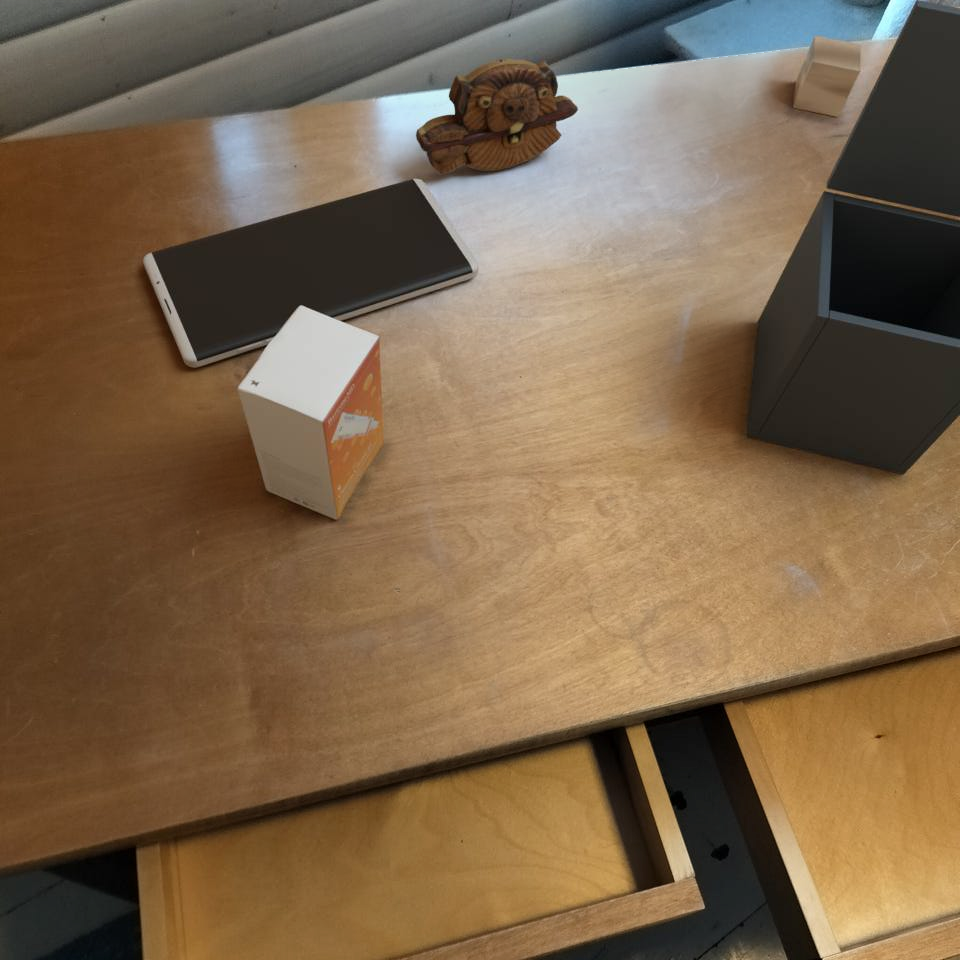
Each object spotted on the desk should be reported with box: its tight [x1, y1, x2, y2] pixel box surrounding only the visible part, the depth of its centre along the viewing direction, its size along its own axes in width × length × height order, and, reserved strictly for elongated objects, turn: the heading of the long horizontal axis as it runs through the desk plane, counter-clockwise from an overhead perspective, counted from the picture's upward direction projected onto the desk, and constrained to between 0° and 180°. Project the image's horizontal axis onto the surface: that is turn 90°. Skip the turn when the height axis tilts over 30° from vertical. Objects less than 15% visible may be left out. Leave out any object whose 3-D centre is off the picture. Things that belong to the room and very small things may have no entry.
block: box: [792, 35, 862, 118], centre depth 93 cm, size 5×5×6 cm
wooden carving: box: [415, 58, 579, 175], centre depth 82 cm, size 16×5×10 cm, turn 118°
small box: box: [237, 305, 385, 521], centre depth 61 cm, size 8×6×13 cm
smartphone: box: [142, 178, 480, 369], centre depth 76 cm, size 13×27×2 cm, turn 117°
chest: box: [745, 190, 960, 475], centre depth 67 cm, size 13×13×15 cm
